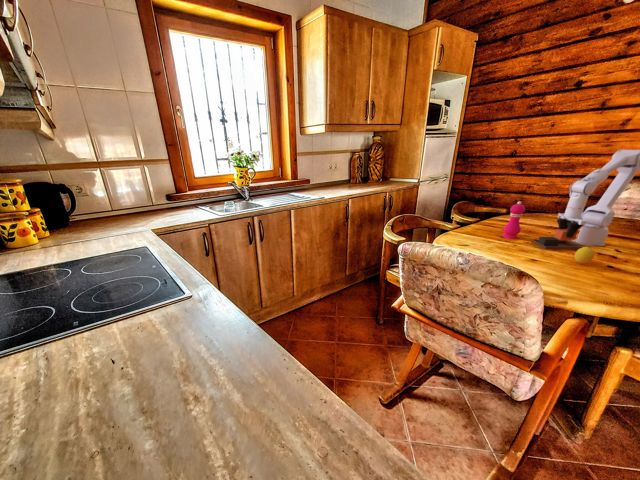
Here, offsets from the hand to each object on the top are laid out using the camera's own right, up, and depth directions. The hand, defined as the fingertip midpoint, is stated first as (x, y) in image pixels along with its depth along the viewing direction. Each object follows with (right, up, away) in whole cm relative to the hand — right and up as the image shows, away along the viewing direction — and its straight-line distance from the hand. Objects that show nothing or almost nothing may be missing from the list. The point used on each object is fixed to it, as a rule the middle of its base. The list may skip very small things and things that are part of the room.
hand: (565, 235), depth 133 cm
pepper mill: (-13, 0, +18) cm, 22 cm away
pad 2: (0, -1, +1) cm, 1 cm away
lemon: (-10, -14, -16) cm, 24 cm away
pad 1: (-6, -5, +3) cm, 8 cm away
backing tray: (-2, -5, +3) cm, 6 cm away
